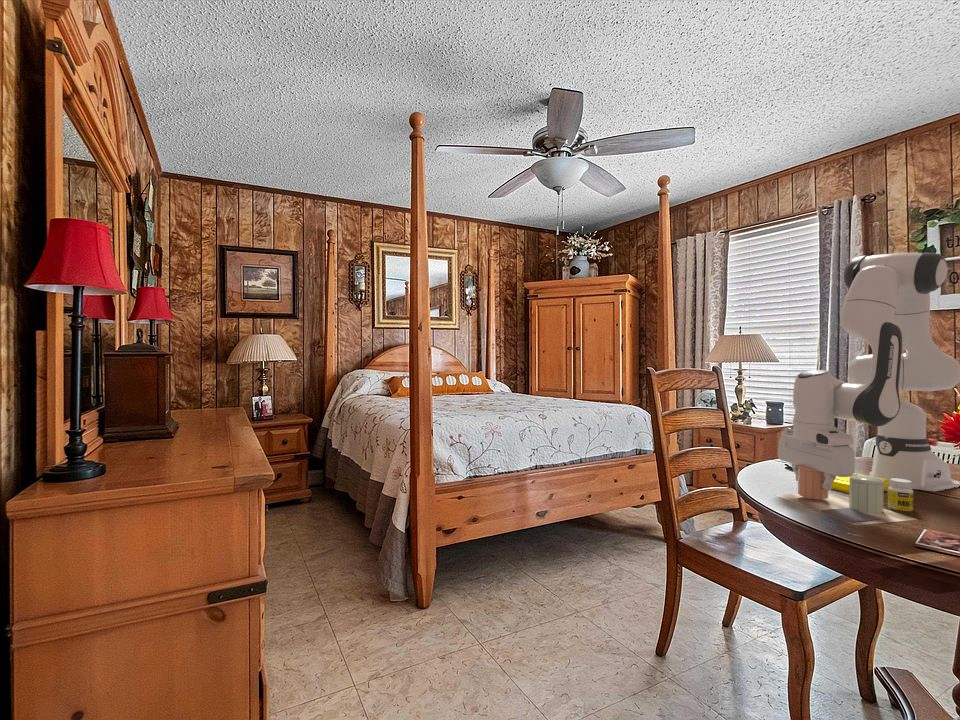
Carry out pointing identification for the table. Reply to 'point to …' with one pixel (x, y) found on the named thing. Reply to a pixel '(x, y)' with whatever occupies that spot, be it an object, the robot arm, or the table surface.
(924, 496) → the table surface
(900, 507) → the supplement bottle
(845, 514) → the charcoal mat
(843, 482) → the element tile
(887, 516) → the birch board
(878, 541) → the table surface
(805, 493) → the terracotta cup
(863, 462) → the table surface
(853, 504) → the sage cup
